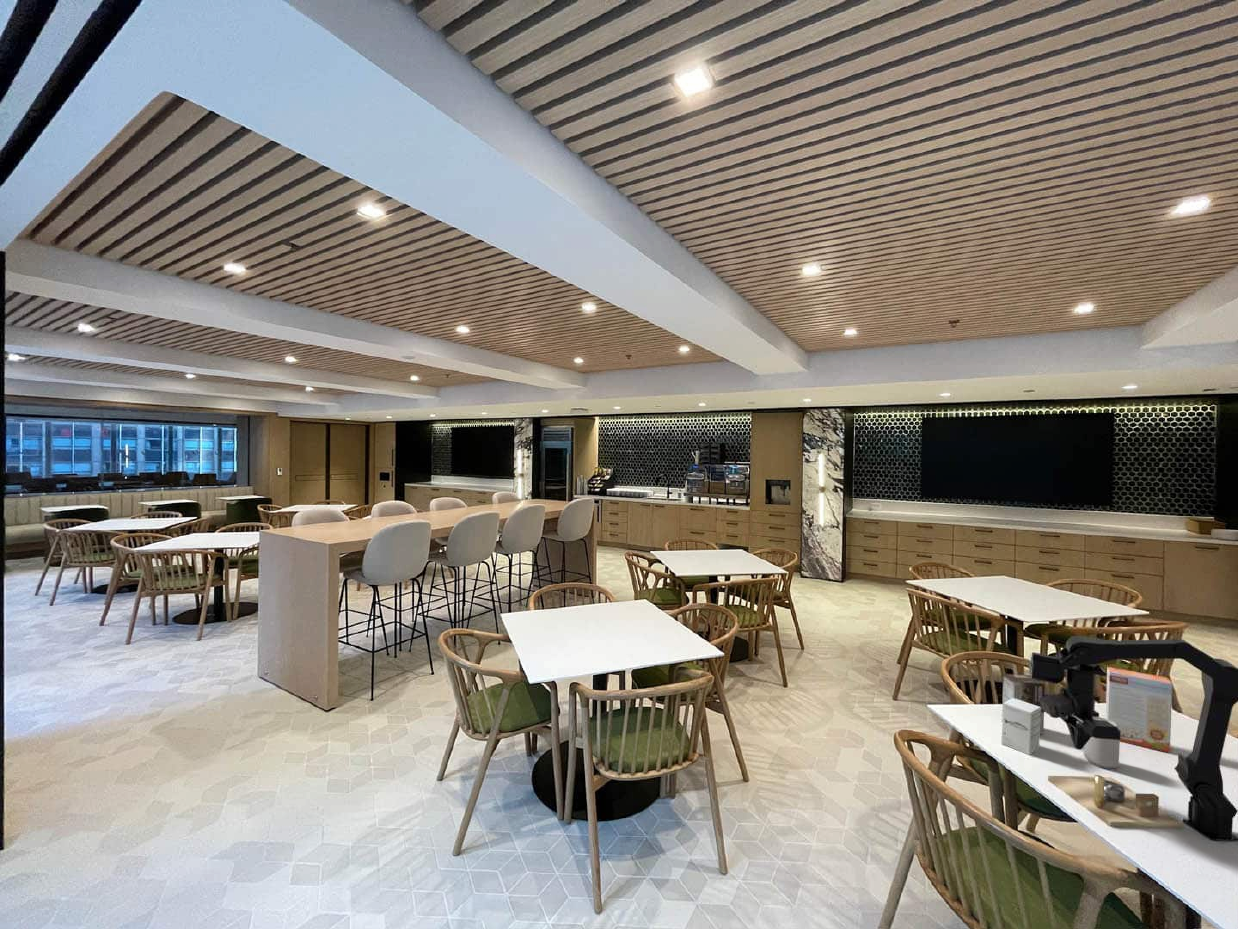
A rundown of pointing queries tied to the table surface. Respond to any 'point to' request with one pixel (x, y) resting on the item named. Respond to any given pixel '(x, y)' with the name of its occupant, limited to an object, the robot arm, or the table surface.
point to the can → (1103, 750)
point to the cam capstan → (1107, 792)
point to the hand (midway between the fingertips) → (1077, 748)
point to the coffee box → (1024, 692)
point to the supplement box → (1021, 725)
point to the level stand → (1117, 804)
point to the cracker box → (1140, 707)
